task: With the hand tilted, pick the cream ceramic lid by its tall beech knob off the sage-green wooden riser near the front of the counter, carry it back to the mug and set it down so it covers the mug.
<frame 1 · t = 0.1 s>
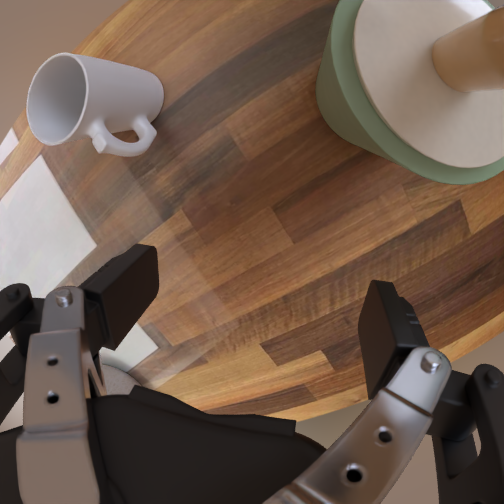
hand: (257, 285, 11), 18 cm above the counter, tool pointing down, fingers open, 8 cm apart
planter: (122, 385, 45), on the counter
mug: (147, 109, 26), on the counter
lid: (451, 65, 8), point 16 cm above the counter, touching riser
riser: (370, 95, 22), on the counter
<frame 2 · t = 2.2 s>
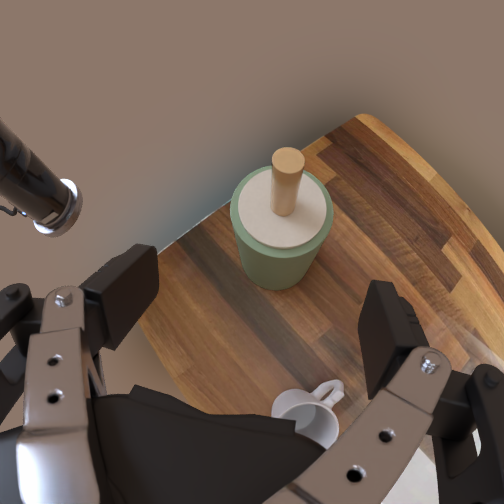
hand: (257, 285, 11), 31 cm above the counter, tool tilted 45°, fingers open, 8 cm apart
mug: (302, 401, 38), on the counter
lid: (282, 207, 29), point 16 cm above the counter, touching riser
riser: (275, 256, 44), on the counter
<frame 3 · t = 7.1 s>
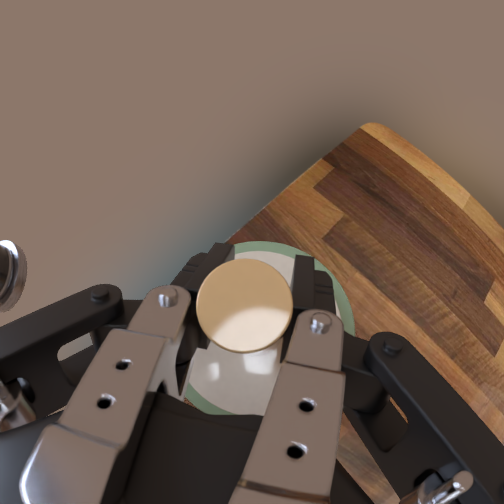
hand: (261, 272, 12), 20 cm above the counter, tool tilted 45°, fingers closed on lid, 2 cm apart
lid: (257, 333, 15), point 16 cm above the counter, touching gripper, riser
riser: (264, 347, 30), on the counter
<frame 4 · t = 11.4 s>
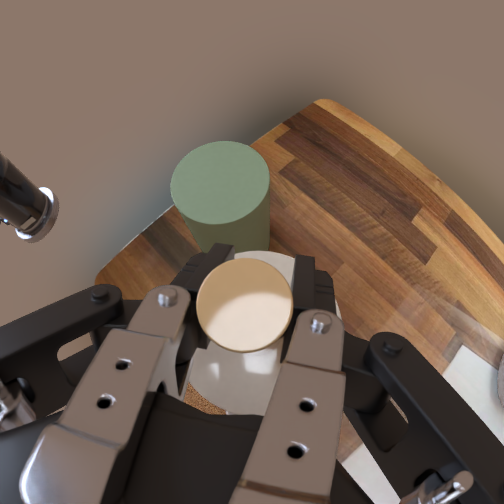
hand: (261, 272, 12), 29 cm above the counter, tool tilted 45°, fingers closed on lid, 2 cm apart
lid: (257, 333, 15), point 26 cm above the counter, touching gripper
riser: (235, 239, 44), on the counter
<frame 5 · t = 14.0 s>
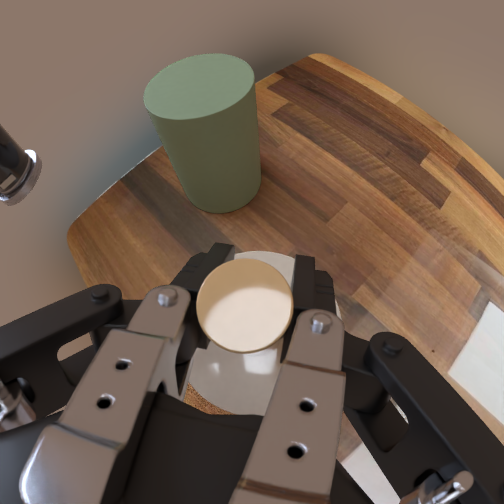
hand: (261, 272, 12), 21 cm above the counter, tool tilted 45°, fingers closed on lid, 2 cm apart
lid: (257, 333, 15), point 17 cm above the counter, touching gripper
riser: (222, 179, 38), on the counter
when the fingers open (16 cm above the counter, at t = 15.6 s): lid stays where it is, resting on mug.
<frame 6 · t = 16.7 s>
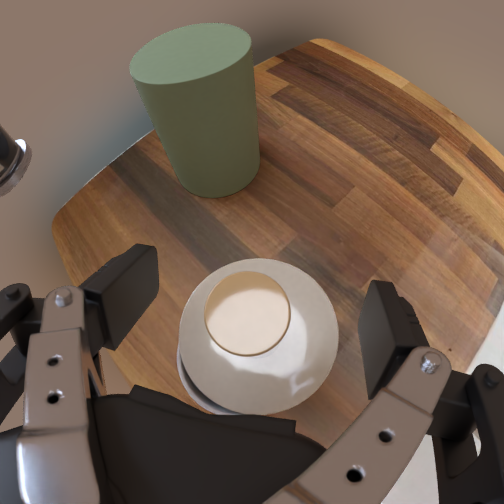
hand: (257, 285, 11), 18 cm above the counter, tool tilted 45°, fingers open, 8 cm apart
mug: (263, 346, 27), on the counter, touching lid
lid: (258, 336, 16), point 12 cm above the counter, touching mug
riser: (217, 162, 34), on the counter
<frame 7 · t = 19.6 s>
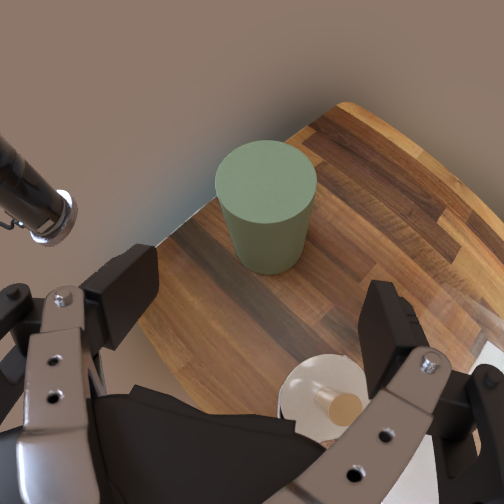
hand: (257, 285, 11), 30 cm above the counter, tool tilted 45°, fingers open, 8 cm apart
lid: (325, 397, 25), point 12 cm above the counter, touching mug
riser: (269, 241, 44), on the counter
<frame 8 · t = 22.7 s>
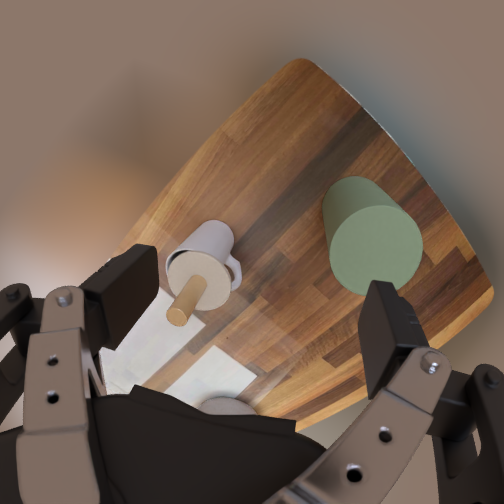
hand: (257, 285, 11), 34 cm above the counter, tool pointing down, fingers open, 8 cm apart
planter: (231, 409, 67), on the counter
mug: (224, 243, 49), on the counter, touching lid
lid: (199, 280, 38), point 12 cm above the counter, touching mug
riser: (354, 209, 43), on the counter
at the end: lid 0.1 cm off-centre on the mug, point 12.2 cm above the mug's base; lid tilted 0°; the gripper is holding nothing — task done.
